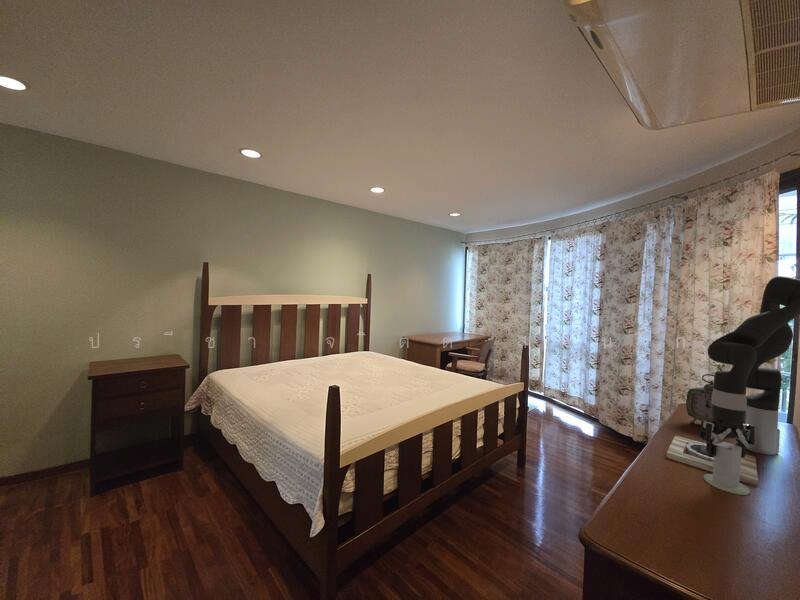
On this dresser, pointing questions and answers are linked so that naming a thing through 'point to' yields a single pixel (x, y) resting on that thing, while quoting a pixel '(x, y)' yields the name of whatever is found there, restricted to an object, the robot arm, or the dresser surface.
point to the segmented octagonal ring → (698, 451)
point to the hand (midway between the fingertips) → (725, 455)
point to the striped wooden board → (677, 453)
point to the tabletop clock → (700, 402)
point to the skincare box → (727, 464)
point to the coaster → (736, 489)
